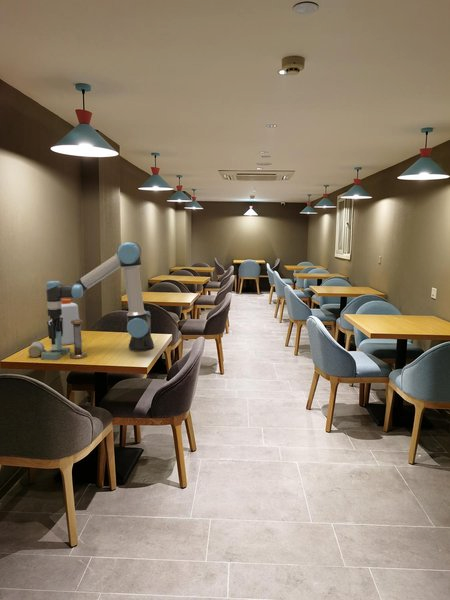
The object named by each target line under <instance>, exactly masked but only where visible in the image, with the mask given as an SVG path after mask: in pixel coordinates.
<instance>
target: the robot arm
mask: <svg viewBox="0 0 450 600" xmlns="http://www.w3.org/2000/svg"><path fill="white" fill-rule="evenodd" d="M141 256H142V248H141V246H140V245H139V244H138V243H137V242H134V241H126V242H123V243H121V244H120V246H119V247H118V250H117V251H115V254H114V255H113V256H112V257H110V258H109V259H107V260H106V261H104V262H103V263H100V265H98V266H96V267H95V268H94V269H93V270H90V272H88V273H87V274H85V275H83V276H82V277H81V278H79V279H78V280H76V281H75V282H73V283H70V284H62V283H61V282H60V281H59V280H50V281H47V282H46V285H45V286H46V287H45V288H46V289H45V290H46V304H47V306H46V307H47V316H48V317H49V321H46V325H47V331H48V339H49V340H51V339H52V344H51V349H52V350H57V339H56V331H61V336H63V318H60V315H62V309H61V307H62V306H61V300H62V299H79V298H80V299H81V298H82V297H84V296H83V295H84V292H85V291H86V292H87V290H89V289H90V288H91V287H93V286H94V285H96V284H98V283H99V282H100V281H102V280H104V279H105V278H106V277H108V276H109V275H111V274H113V273H114V272H115V271H117V270H119V269H120V268H121V269H122V270H123V274H124V275H123V276H124V282H125V291H126V292H125V293H126V299H127V306H128V307H127V308H128V312H127V313H126V321H127V325H126V330H127V332H128V334H129V335H130V340H129V343H128V350H129V351H134V352H145V351H150V350H153V349H155V344H154V340H153V338H152V333H151V330H152V329H151V316H152V315H151V311H149V310H145V308H144V307H145V306H144V300H143V290H142V281H141V275H140V274H141V273H140V268H141V266H142V260H141Z"/></svg>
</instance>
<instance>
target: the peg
mask: <svg viewBox="0 0 450 600" xmlns="http://www.w3.org/2000/svg"><path fill="white" fill-rule="evenodd" d="M56 339H57V350H60V349H62V347H63V345H62V341H61V331H56ZM50 342H51V345H52V339H50Z"/></svg>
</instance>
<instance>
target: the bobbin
mask: <svg viewBox="0 0 450 600" xmlns="http://www.w3.org/2000/svg"><path fill="white" fill-rule="evenodd" d="M71 324H73V331H74V344H73V346H74V352H73V353H72V352H71V353H69V358H70V359H73V360H81V359H85V358H87V356H88V354H87V352H84V351H83V346H82V345H83V344H82V341H81V337H82V324H83V319H79V320H71Z"/></svg>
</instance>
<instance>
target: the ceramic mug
mask: <svg viewBox="0 0 450 600" xmlns="http://www.w3.org/2000/svg"><path fill="white" fill-rule="evenodd" d="M30 344H31V345H30V346H29V348H28V355H29V356H30V357H32V358H38V357H40V356H41V354H43V353H45V352H47V351H48V350H46V349H45V346H44V344H43V342H41V341H33V342H32V343H30Z"/></svg>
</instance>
